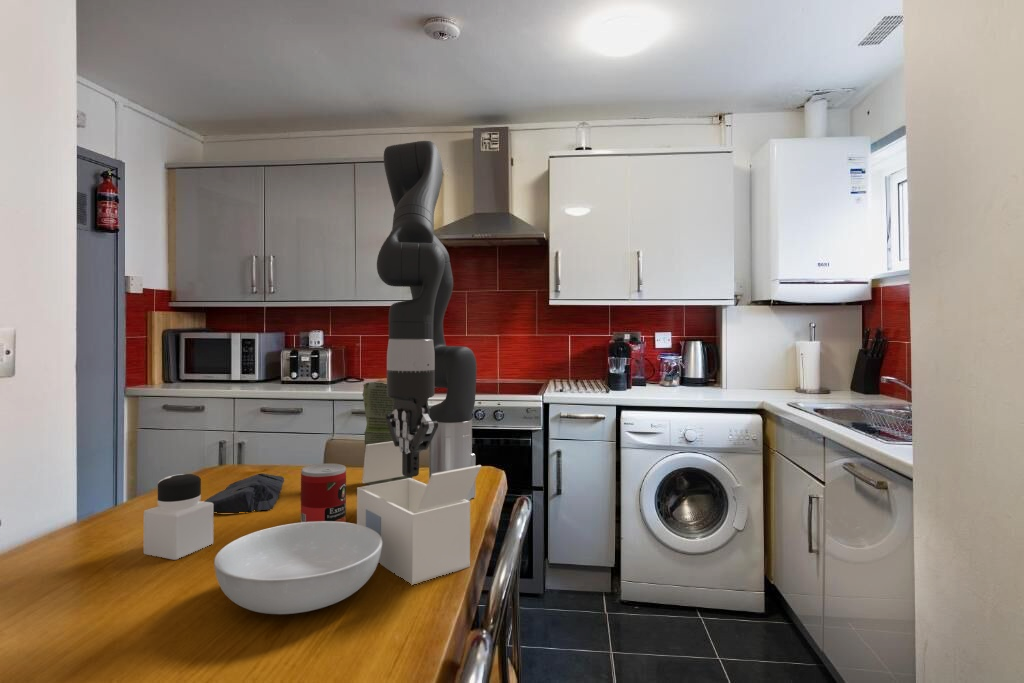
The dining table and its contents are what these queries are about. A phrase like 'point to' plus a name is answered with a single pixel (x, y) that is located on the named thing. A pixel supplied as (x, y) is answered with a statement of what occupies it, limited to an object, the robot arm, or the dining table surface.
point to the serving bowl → (297, 566)
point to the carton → (415, 530)
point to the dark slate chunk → (248, 494)
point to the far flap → (382, 462)
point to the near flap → (448, 486)
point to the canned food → (323, 493)
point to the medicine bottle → (178, 519)
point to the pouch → (378, 418)
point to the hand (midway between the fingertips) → (410, 475)
